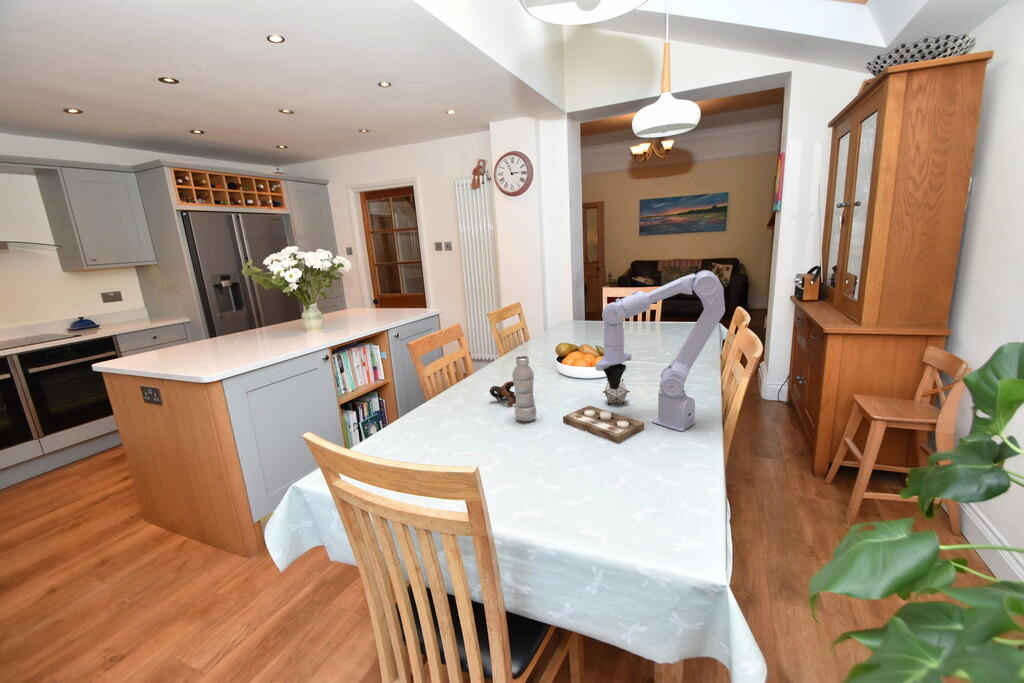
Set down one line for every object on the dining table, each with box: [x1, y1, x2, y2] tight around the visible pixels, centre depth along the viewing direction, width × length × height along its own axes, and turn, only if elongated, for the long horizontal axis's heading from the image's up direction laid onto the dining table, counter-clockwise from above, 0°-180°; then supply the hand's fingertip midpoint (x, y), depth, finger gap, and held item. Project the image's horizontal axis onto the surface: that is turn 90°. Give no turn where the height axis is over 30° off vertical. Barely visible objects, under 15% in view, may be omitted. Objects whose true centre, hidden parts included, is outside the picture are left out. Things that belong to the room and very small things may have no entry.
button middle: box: [600, 410, 612, 422], centre depth 128 cm, size 3×3×2 cm
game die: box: [602, 378, 631, 406], centre depth 143 cm, size 9×8×10 cm
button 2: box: [617, 421, 629, 428], centre depth 123 cm, size 3×3×2 cm
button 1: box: [584, 410, 595, 416], centre depth 132 cm, size 3×3×2 cm
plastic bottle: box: [511, 355, 538, 423], centre depth 133 cm, size 6×7×20 cm
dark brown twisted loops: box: [489, 380, 516, 407], centre depth 150 cm, size 12×10×8 cm
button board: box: [562, 404, 645, 444], centre depth 127 cm, size 20×12×2 cm, turn 40°
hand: (614, 388), depth 130 cm, fingers closed
